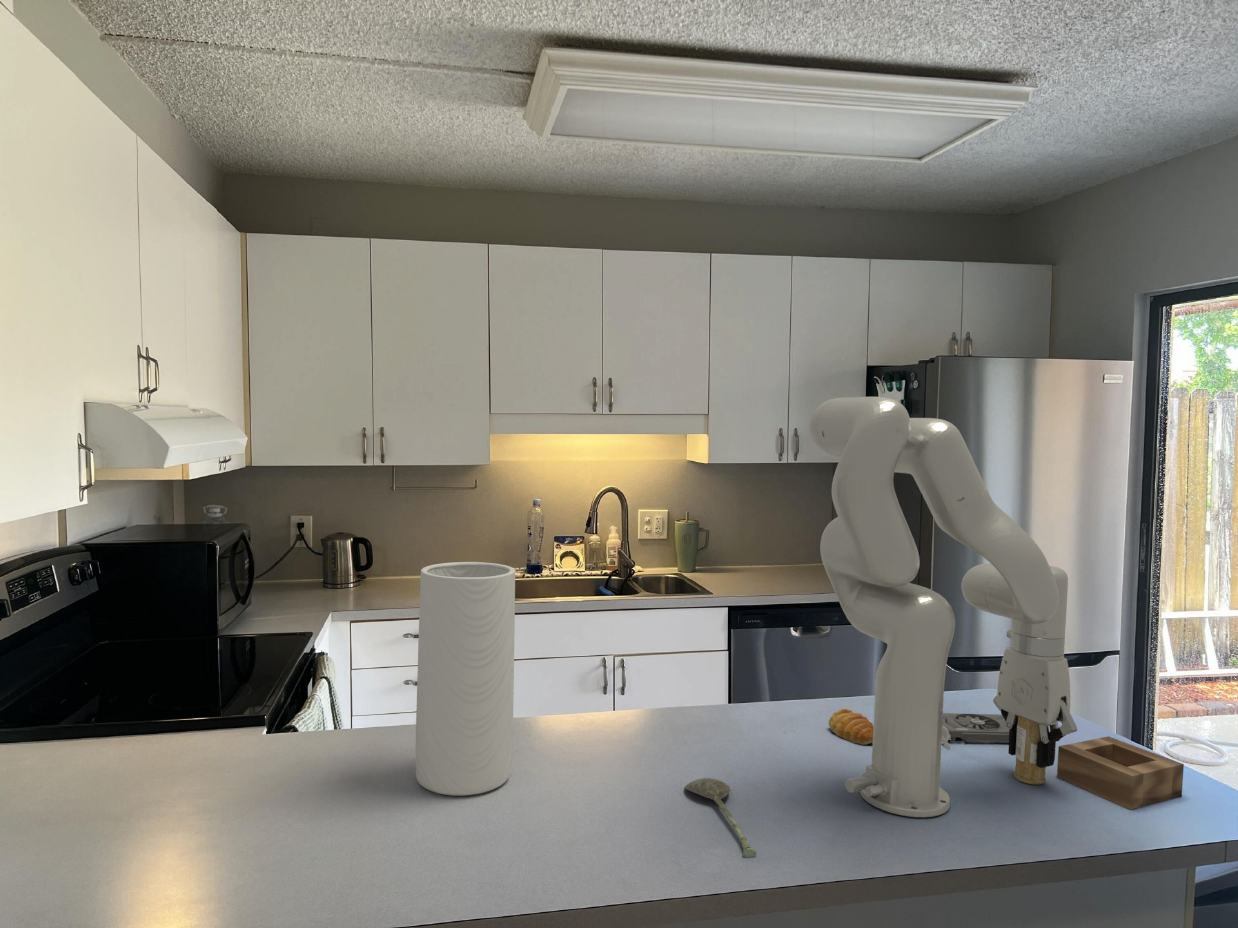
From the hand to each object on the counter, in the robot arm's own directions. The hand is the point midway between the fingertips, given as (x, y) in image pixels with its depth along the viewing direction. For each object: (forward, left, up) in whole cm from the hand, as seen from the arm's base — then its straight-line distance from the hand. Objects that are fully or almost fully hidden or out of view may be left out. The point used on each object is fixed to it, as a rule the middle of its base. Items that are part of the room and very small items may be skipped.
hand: (1030, 758), depth 132 cm
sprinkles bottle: (0, 0, -4) cm, 4 cm away
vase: (-82, +32, -4) cm, 88 cm away
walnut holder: (+11, -7, -3) cm, 13 cm away
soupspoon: (-52, +7, -4) cm, 53 cm away
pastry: (-13, +25, -4) cm, 29 cm away
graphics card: (+6, +17, -4) cm, 18 cm away
